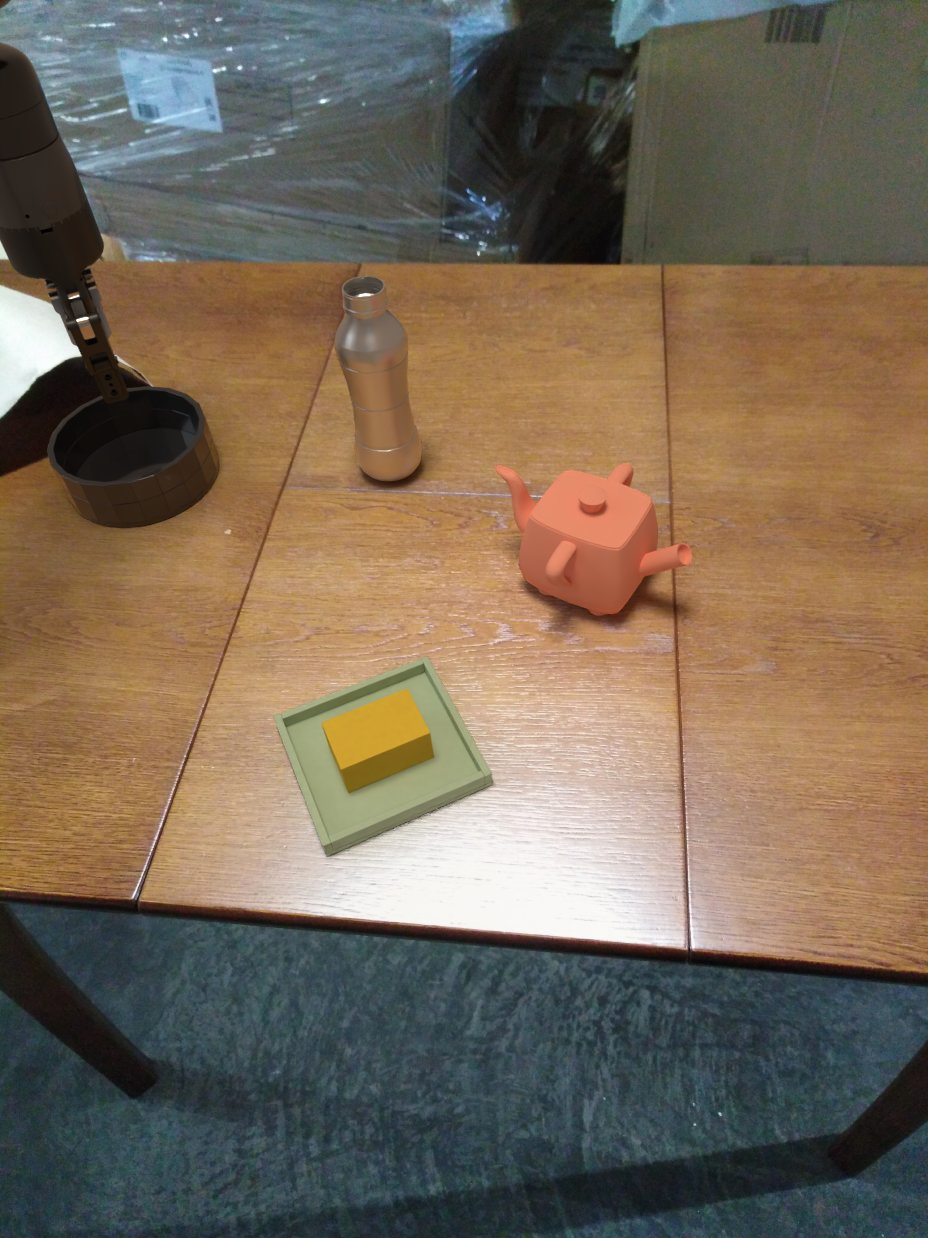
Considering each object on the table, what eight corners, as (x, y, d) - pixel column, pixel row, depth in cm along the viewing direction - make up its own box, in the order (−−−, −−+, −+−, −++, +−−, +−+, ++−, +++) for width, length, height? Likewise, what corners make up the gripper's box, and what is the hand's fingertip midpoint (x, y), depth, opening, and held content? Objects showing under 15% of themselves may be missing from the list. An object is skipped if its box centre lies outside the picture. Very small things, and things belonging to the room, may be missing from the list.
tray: (326, 857, 64) (322, 846, 63) (277, 727, 71) (273, 716, 70) (492, 784, 67) (492, 773, 66) (429, 667, 74) (427, 655, 73)
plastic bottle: (417, 492, 88) (395, 309, 73) (351, 487, 89) (315, 305, 74) (429, 449, 92) (410, 267, 77) (365, 445, 93) (334, 265, 78)
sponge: (348, 793, 67) (340, 769, 64) (328, 747, 69) (320, 722, 67) (434, 757, 68) (430, 732, 66) (411, 713, 71) (407, 687, 68)
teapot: (647, 521, 84) (659, 435, 76) (684, 617, 76) (702, 532, 68) (497, 542, 83) (493, 458, 75) (520, 641, 76) (518, 559, 68)
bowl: (82, 547, 86) (59, 505, 82) (59, 455, 95) (38, 413, 91) (235, 496, 89) (221, 453, 85) (199, 413, 98) (184, 370, 94)
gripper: (-21, 177, 74) (60, 356, 87) (-4, 253, 65) (84, 438, 78) (71, 156, 76) (137, 335, 89) (99, 227, 67) (168, 413, 80)
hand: (112, 382), depth 83 cm, fingers open, 5 cm apart
